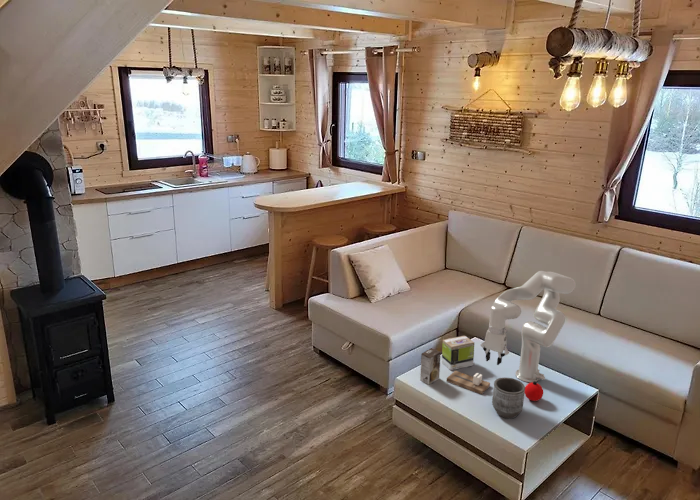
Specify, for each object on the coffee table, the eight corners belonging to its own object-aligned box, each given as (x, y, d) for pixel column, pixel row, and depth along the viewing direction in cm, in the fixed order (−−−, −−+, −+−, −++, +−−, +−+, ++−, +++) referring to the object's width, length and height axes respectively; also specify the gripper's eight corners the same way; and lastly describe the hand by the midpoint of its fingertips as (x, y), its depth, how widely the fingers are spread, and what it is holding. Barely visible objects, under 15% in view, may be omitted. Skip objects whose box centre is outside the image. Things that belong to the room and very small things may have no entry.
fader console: (489, 386, 273) (490, 382, 272) (481, 394, 265) (482, 390, 265) (455, 373, 284) (455, 370, 284) (446, 381, 277) (446, 377, 276)
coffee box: (429, 374, 284) (431, 347, 279) (439, 378, 279) (441, 351, 275) (419, 380, 278) (420, 353, 273) (429, 385, 273) (430, 357, 269)
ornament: (520, 399, 261) (522, 381, 258) (528, 392, 267) (530, 375, 264) (537, 406, 255) (539, 389, 252) (545, 399, 261) (547, 382, 258)
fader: (481, 382, 272) (482, 374, 270) (478, 385, 269) (478, 377, 267) (476, 380, 274) (476, 372, 272) (472, 383, 271) (473, 375, 269)
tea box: (463, 358, 301) (465, 334, 297) (473, 366, 292) (475, 342, 288) (440, 362, 296) (442, 338, 292) (450, 370, 287) (451, 346, 283)
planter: (493, 401, 259) (496, 374, 255) (523, 407, 254) (526, 380, 250) (489, 417, 247) (492, 389, 243) (520, 424, 242) (523, 396, 237)
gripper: (516, 331, 255) (512, 364, 260) (483, 322, 265) (480, 354, 270) (510, 336, 249) (506, 370, 255) (477, 327, 259) (474, 359, 265)
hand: (493, 361), depth 262 cm, fingers open, 5 cm apart
